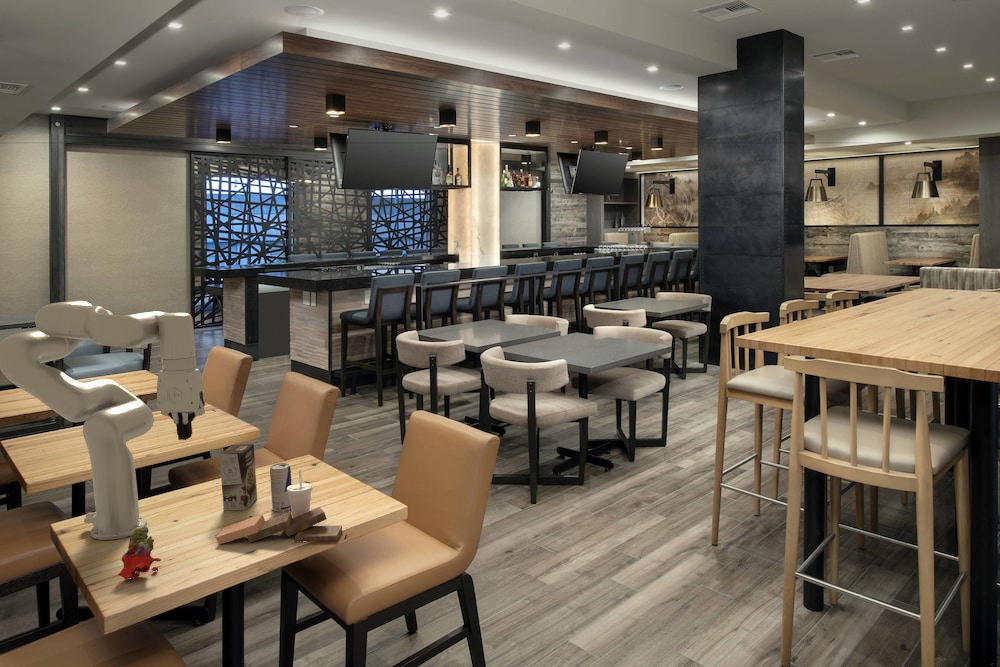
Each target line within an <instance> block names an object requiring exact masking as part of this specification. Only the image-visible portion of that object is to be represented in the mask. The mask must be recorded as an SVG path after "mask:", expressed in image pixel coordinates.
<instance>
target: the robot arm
mask: <svg viewBox="0 0 1000 667" xmlns="http://www.w3.org/2000/svg"><path fill="white" fill-rule="evenodd" d="M34 322H35V326H36V328H37V329H36V330H35V329H34V330H29V331H24V332H23V331H21V332H18V333H15V334H12V335H8V336H7V337H4V339H2V340H1V341H0V371H1V372H2V374H3V375H4V377H5V378H6V379H7V380H8V381H9V382H10V383H12V384H13V385H15V386H16V387H18V388H19V389H21V390H23V391H24V392H27V393H28V394H30V395H31V396H33V397H34V398H36V399H37V400H39V401H40V402H41V403H43V404H44V405H45V406H46V407H48V408H50V409H51V410H52V411H54V413H57V414H58V415H59V416H61V417H62V418H64V419H65V420H67V421H69V422H72V423H81V422H84V421H85V422H84V423H83V426H82V434H83V439H84V442H85V446H86V448H87V450H88V455H89V461H90V469H91V470H90V471H91V476H92V487H93V496H94V498H93V499H94V505H95V512H87V513H86V515H85V517H84V519H83V523H84V524H92V526H93V527H92V528H91V529H90V536H91V537H92V538H93V539H95V540H99V541H109V540H110V541H111V540H117V539H118V540H119V539H122V538H127V537H130V535H131V534H132V532H133V531H134V530H135V529H136V528H141V527H147V525H148V521H147V519H146V518H145V517H143V516H141V515H140V508H139V507H140V506H139V495H138V484H137V476H136V464H135V458H134V456H133V453H132V452H131V450H130V449H129V448H128V445H127V442H129V441H132V440H134V439H136V438H138V437H142V436H143V435H145V434H147V433H148V432H149V431H151V429H152V427H153V425H154V424H155V423H154V421H155V418H154V413H153V411H152V410H151V408H150V407H149V406H148V405H147V404H146V403H145V402H144V401H143V400H141V399H140V398H139V397H137V396H136V395H135V394H133V393H131V391H129V390H127V389H126V388H125V387H123V386H122V385H120V384H118V383H117V382H116V381H113V380H111V379H107V378H95V379H91V380H85V381H77V380H75V379H74V378H72V377H70V376H69V375H67V374H66V373H65V372H64V371H62V370H60V369H58V368H55V367H53V366H50V365H46V364H44V363H48V362H54V361H59V360H60V359H63V358H66V357H67V356H69V355H70V354H72V353H73V352H74V351H75V350H76V349H77V347H79V346H80V345H81V344H82V343H83V342H84V341H92V342H93V343H95V344H97V345H100V346H106V347H116V348H135V347H139V346H140V347H141V346H144V345H148V344H155V343H159V346H160V348H159V349H160V359H157V361H156V363H157V365H158V366H160V367H161V370H159V371H158V373H157V374H158V375H157V380H156V381H157V382H156V405H157V410H158V411H159V412H160V414H161V415H162V416H165V417H169V418H170V419H171V420H172V421H173V424H174V425H176V435H177V440H178V441H186V440H188V439H190V438H192V434H193V426H192V422H193V421H194V419H195V418H196V417H200V416H203V415H205V414H206V411H205V408H204V407H205V406H206V396H205V388H204V383H203V378H202V375H201V371H200V369H199V368H197V358H196V345H195V334H194V333H195V331H194V319H193V317H192V315H191V314H190V313H188V312H187V313H186V312H164V311H158V310H157V311H156V310H155V311H147V312H139V313H132V314H127V315H119V314H109V311H108V310H107V309H106V308H104V307H103V306H99V305H92V304H91V303H90V302H88V301H84V300H69V301H61V302H53V303H49V304H47V305H44V306H42V307H40V309H39V310H38V311H37V312H36V314H35V316H34Z"/></svg>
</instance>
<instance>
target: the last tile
mask: <svg viewBox="0 0 1000 667" xmlns="http://www.w3.org/2000/svg"><path fill="white" fill-rule="evenodd" d="M342 532H343V525H342V524H341V525H338V524H337V525H313V526H311V527H309V528H306V529H304V530H302V531H300V532H298V533H296V534H295V539H294V540H295V542H296V541H299V542H298V543H304V542H303V541H307V542H306V543H316V542H317V543H318V542H323V543H324V542H338V540H339V538H340V536H341V534H342ZM300 541H301V542H300Z"/></svg>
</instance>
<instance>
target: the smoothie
mask: <svg viewBox="0 0 1000 667" xmlns="http://www.w3.org/2000/svg"><path fill="white" fill-rule="evenodd" d="M298 475H299V476H298V477H299V478H298V481H299V482H297V483H293V484H292V485H290V486H288V487H287V493H288V495H289V500H290V505H291V509H290V510H291V515H292V517H293V518H295V517H298V516H300V515H302V514H304V513H307V512H309V511H311V510H310V509H311V498H312V491H313V485H312V484H311V483H308V482H302V481H303V480H302V479H303V478H302V469H298Z"/></svg>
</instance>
